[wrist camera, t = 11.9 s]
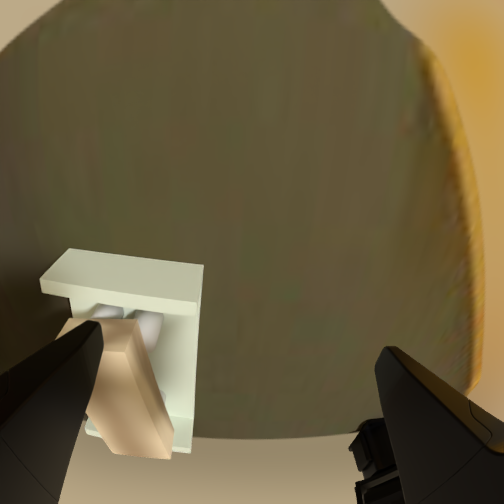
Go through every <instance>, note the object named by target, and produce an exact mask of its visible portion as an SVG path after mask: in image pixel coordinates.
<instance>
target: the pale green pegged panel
mask: <svg viewBox="0 0 504 504" xmlns="http://www.w3.org/2000/svg"><path fill="white" fill-rule="evenodd" d="M203 268H204V265H199V264H190V263H182V262H173V261H165V260H157V259H148V258H140V257H132V256H124V255H117V254H109V253H101V252H93V251H86V250H78V249H71V248H69V249H68V250H67V251H66V252H65V253H64V254H63V255H62V256H61V257H60V258H59V259H58V260H57V261H56V262H55V263H54V264H53V265H52V266H51V267H50V268H49V269H48V270H47V271H46V272H45V273H44V274H43V275H42V277H41V278H40V284H41V289H42V293H47V294H52V295H57V296H62V297H67V298H69V299H70V305H71V310H72V315H73V318H81V319H138V323H139V327H140V330H141V334H142V337H143V341H144V344H145V347H146V351H147V354H148V357H149V360H150V363H151V366H152V370H153V373H154V376H155V379H156V382H157V384H158V387H159V390H160V393H161V396H162V399H163V402H164V404H165V407H166V410H167V412H168V415H169V418H170V420H171V423H172V425H173V428H174V437H173V445H172V451H176V452H184V453H191V445H192V433H193V422H194V404H195V382H196V364H197V347H198V332H199V317H200V304H201V292H202V280H203ZM85 431H86V433H87V434H89V435H93V436H97V437H101V438H102V436H101V435H100V434H99V432H98V430H97V429H96V427H95V426H94V424H93V423H92V421H91V420H90V418H89V417H88V420H87V423H86V426H85Z"/></svg>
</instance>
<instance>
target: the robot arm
mask: <svg viewBox="0 0 504 504" xmlns="http://www.w3.org/2000/svg"><path fill="white" fill-rule="evenodd" d="M103 349H104V340H103V333H102V327H101V324H100V322H98V321H93V320H86V321H85V322H83V323H81V324H80V325H78V326H77V327H75V328H73V329H72V330H70V331H69V332H67V333H65V334H64V335H62V336H61V337H59V338H57V339H56V340H54V341H53V342H51V343H50V344H48V345H46V346H45V347H43V348H42V349H40V350H39V351H37V352H35V353H34V354H32V355H31V356H29V357H28V358H26V359H25V360H23V361H21V362H20V363H18V364H17V365H15V366H14V367H12V368H11V369H9V371H6V372H4V373H3V374H1V375H0V504H58V501H59V498H60V494H61V490H62V487H63V483H64V479H65V476H66V472H67V468H68V465H69V461H70V458H71V455H72V451H73V449H74V445H75V442H76V439H77V436H78V433H79V429H80V427H81V424H82V421H83V418H84V415H85V412H86V409H87V406H88V404H89V401H90V398H91V395H92V392H93V389H94V385H95V381H96V377H97V373H98V369H99V365H100V361H101V357H102V353H103ZM375 375H376V381H377V386H378V391H379V397H380V403H381V408H382V412H383V415H384V419H375V420H369V421H367V422H366V423H365V425H364V426H363V428H362V429H361V431H360V432H359V434H358V435H357V436H356V438H355V439H354V441H353V442H352V443H351V445H350V446H349V451H353V454H354V458H355V461H356V464H357V467H358V470H359V471H360V472H361V471H362V473H363V476H364V480H362V481H358V482H356V483H355V484H356V487H355V492H356V497H357V504H504V422H502V421H501V420H499V419H497V418H496V417H494V416H493V415H491V414H490V413H488V412H486V411H485V410H484V409H482V408H481V407H479V406H478V405H476V404H475V403H474V402H472V401H471V400H468V398H467V397H465V396H464V395H463V394H461V393H460V392H458V391H457V390H456V389H454V388H453V387H452V386H450V385H449V384H447V383H446V382H445V381H443V380H442V379H441V378H439V377H438V376H436V375H435V374H434V373H432V372H431V371H429V370H428V369H427V368H425V367H424V366H423V365H421V364H420V363H418V362H417V361H416V360H414V359H413V358H411V357H410V356H409V355H407V354H406V353H405V352H403V351H402V350H400V349H399V348H398V347H396V346H386V347H384V348H383V350H382V352H381V354H380V356H379V358H378V360H377V362H376V364H375Z"/></svg>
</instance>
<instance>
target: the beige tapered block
mask: <svg viewBox="0 0 504 504" xmlns="http://www.w3.org/2000/svg"><path fill="white" fill-rule="evenodd" d="M86 320H93V321H98V322H100V324H101V327H102V333H103V340H104V349H103V353H102V357H101V361H100V365H99V369H98V373H97V377H96V381H95V385H94V389H93V392H92V395H91V398H90V401H89V404H88V406H87V409H86V413H87V415H88V416H89V418H90V420H91V421H92V423H93V424H94V426H95V427H96V429H97V430H98V432H99V434H100V435H101V436H102V438H103V439H104V441H105V442H106V444H107V445H108V446H109V448H110V449H111V451H112V452H113V453H116V454H122V455H130V456H139V457H149V458H161V459H171V453H172V445H173V437H174V428H173V425H172V423H171V420H170V418H169V415H168V412H167V410H166V407H165V404H164V402H163V399H162V396H161V393H160V390H159V387H158V384H157V382H156V379H155V376H154V373H153V370H152V366H151V363H150V360H149V357H148V354H147V351H146V347H145V344H144V341H143V337H142V334H141V330H140V327H139V323H138V319H81V318H69V319H68V321H67V322H66V324H65V325H64V327H63V328H62V330H61V332H60V333H59V335H58V336H57V338H59V337H61V336H62V335H64V334H65V333H67V332H69V331H70V330H72V329H73V328H75V327H77V326H78V325H80V324H81V323H83V322H85V321H86ZM57 338H56V339H57ZM56 339H55V340H56Z"/></svg>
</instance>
